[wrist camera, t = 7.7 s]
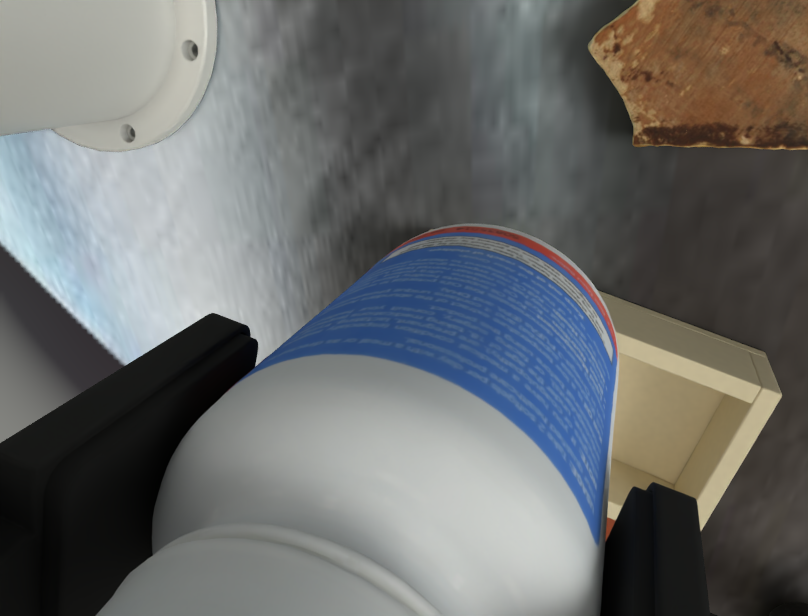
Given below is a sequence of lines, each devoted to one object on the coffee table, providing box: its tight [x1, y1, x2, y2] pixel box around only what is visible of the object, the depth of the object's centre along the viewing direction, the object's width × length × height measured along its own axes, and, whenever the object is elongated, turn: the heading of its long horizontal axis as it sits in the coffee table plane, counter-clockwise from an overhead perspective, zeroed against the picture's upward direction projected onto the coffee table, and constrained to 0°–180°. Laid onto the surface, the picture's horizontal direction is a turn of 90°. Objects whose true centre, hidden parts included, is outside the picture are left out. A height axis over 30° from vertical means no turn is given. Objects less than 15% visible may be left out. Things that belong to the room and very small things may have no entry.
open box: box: [429, 229, 782, 542], centre depth 32 cm, size 15×15×4 cm
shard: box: [588, 0, 808, 150], centre depth 26 cm, size 11×8×2 cm
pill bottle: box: [96, 224, 619, 616], centre depth 10 cm, size 6×5×10 cm
